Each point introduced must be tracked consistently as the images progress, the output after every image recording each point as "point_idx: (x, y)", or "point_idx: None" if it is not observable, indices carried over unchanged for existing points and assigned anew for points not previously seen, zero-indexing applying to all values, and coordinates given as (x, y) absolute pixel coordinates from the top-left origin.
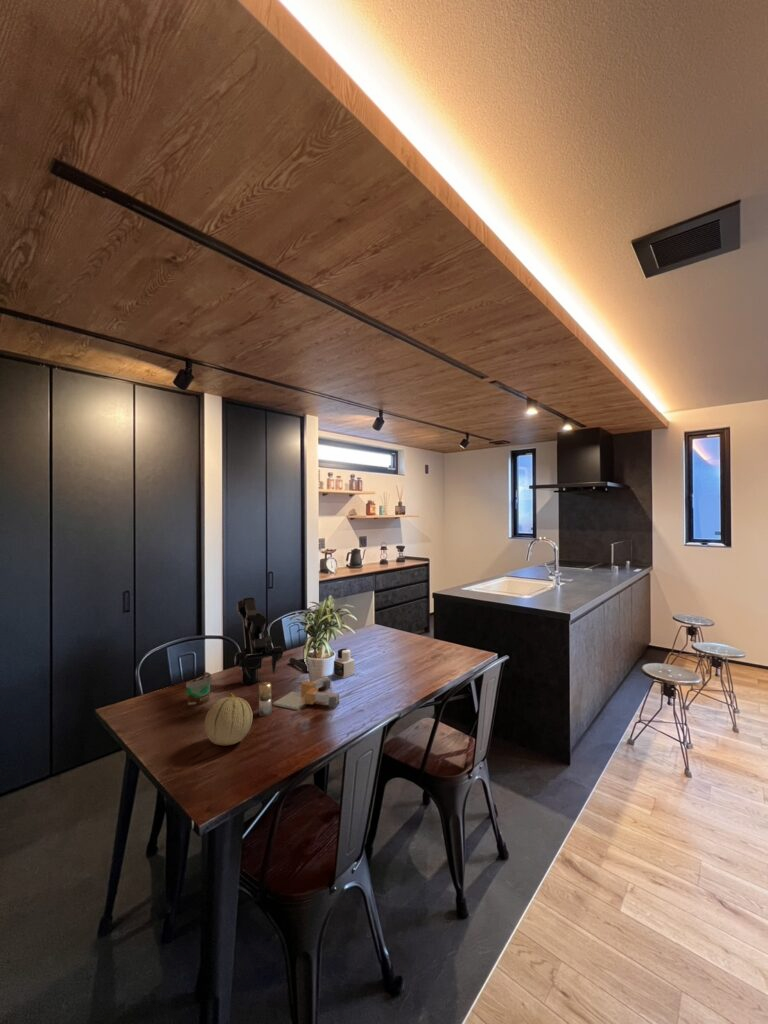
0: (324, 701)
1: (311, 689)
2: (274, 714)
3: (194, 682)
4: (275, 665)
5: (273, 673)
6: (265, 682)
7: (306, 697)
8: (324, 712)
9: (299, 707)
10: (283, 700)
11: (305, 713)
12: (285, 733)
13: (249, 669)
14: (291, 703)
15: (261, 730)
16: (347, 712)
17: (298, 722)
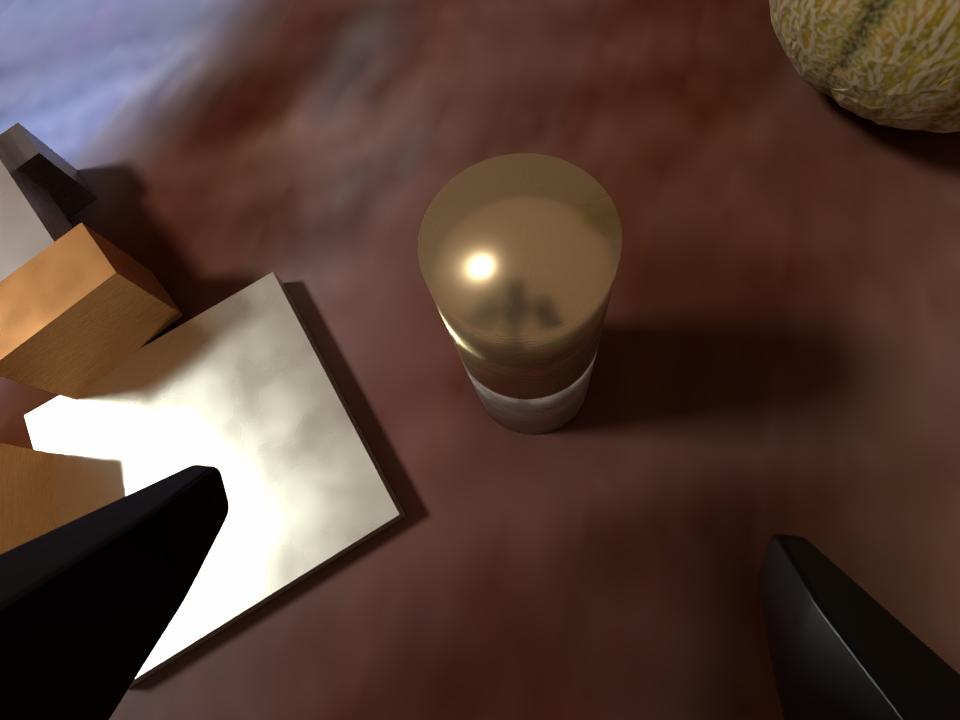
0: (64, 218)
1: (12, 331)
2: None
3: None
4: (17, 548)
5: (224, 499)
6: (487, 309)
7: (139, 282)
8: (157, 158)
9: (256, 284)
10: (295, 505)
11: (264, 209)
12: (503, 25)
13: (882, 687)
14: (270, 387)
15: (636, 125)
16: (54, 91)
17: (371, 112)
